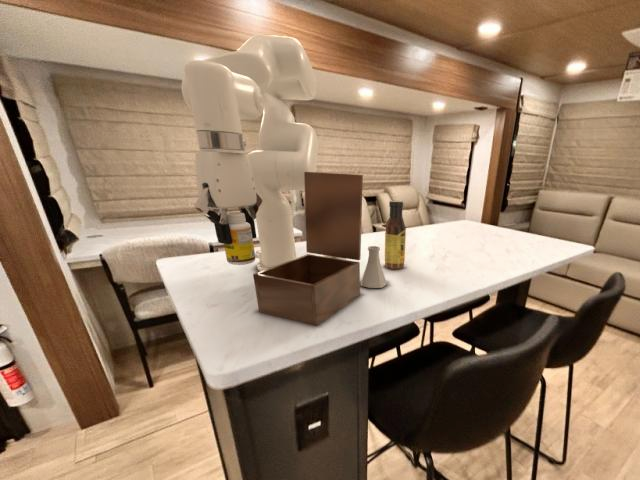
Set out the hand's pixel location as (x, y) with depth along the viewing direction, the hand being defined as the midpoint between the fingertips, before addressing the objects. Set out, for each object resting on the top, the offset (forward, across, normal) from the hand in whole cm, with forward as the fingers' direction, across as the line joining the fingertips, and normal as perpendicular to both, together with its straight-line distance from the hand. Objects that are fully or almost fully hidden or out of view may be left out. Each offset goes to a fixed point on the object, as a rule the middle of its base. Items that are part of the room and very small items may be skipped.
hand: (238, 239), depth 65 cm
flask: (+14, -22, +21) cm, 34 cm away
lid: (-4, -14, +14) cm, 20 cm away
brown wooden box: (+14, -5, +14) cm, 20 cm away
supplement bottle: (+5, 0, 0) cm, 5 cm away
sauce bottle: (+14, -39, +20) cm, 46 cm away
